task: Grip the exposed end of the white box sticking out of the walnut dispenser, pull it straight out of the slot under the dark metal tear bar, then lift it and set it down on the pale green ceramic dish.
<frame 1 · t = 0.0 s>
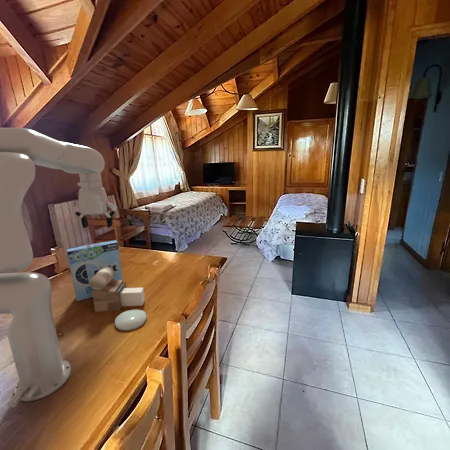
hand: (97, 226, 104), 31 cm above the table, fingers open, 9 cm apart
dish: (131, 320, 94), on the table
white box: (129, 303, 105), on the table
dispenser: (115, 303, 105), on the table
gum box: (100, 293, 114), on the table
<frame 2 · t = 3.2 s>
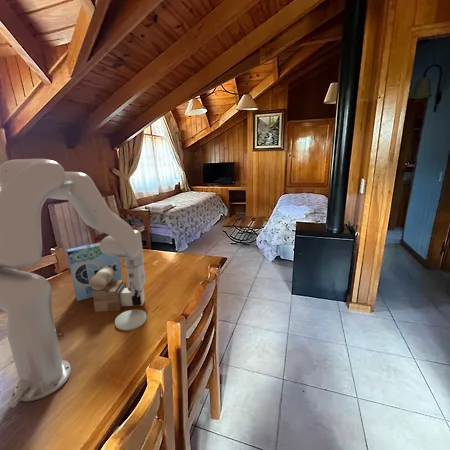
hand: (138, 301, 105), 1 cm above the table, fingers closed on white box, 4 cm apart
white box: (129, 303, 105), on the table, touching gripper
everything else where it was.
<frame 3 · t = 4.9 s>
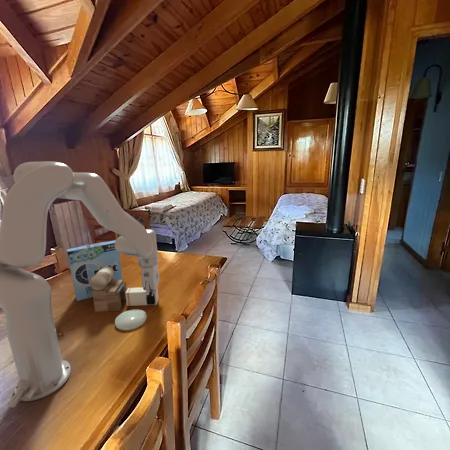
hand: (152, 300, 106), 1 cm above the table, fingers closed on white box, 4 cm apart
white box: (143, 302, 106), on the table, touching gripper
everything else where it was.
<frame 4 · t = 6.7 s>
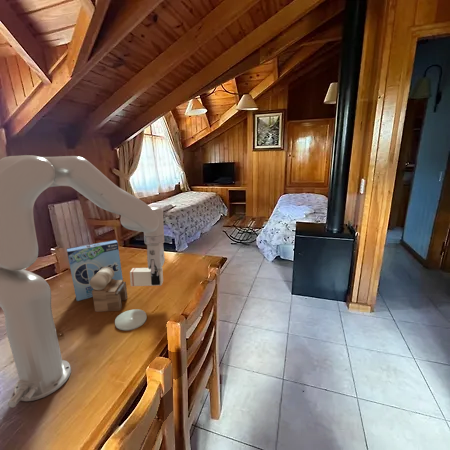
hand: (156, 281, 103), 10 cm above the table, fingers closed on white box, 4 cm apart
white box: (147, 283, 103), point 9 cm above the table, touching gripper
everything else where it was.
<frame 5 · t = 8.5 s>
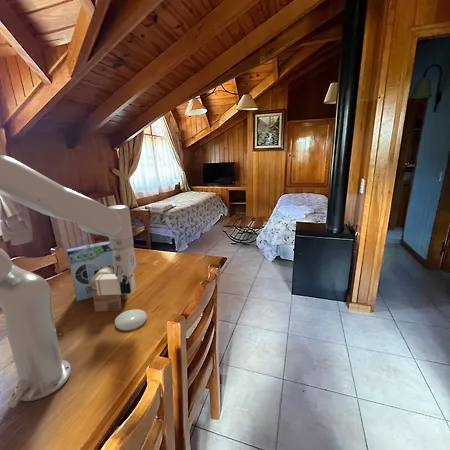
hand: (128, 289, 91), 13 cm above the table, fingers closed on white box, 4 cm apart
white box: (117, 291, 91), point 12 cm above the table, touching gripper
everything else where it was.
when the fingers open (3 cm above the table, at t = 10.2 s): white box stays where it is, resting on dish.
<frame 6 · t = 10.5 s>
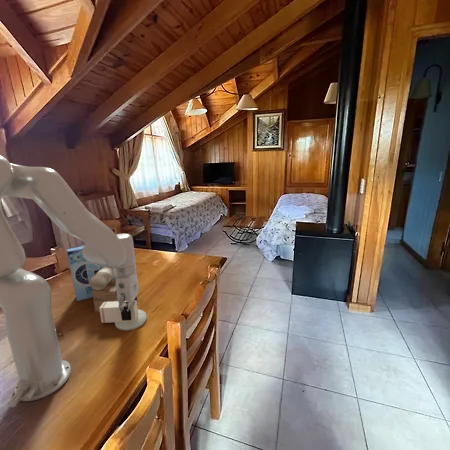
hand: (130, 312, 93), 3 cm above the table, fingers open, 7 cm apart
white box: (120, 318, 93), point 1 cm above the table, touching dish
everything else where it was.
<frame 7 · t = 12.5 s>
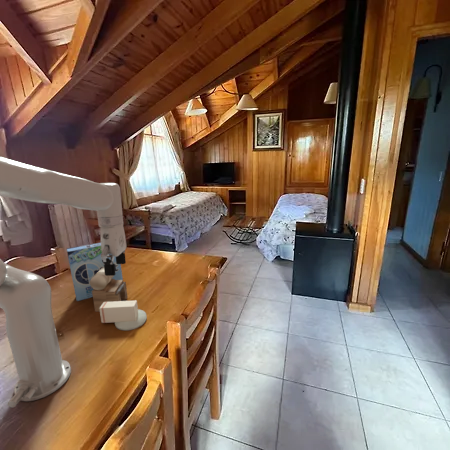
hand: (116, 269, 87), 21 cm above the table, fingers open, 9 cm apart
nothing on the table moved.
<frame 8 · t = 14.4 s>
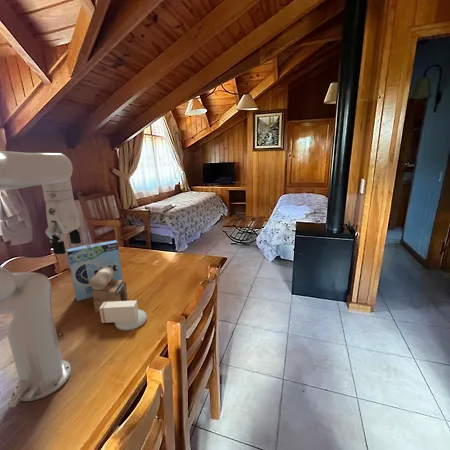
hand: (68, 248, 82), 30 cm above the table, fingers open, 9 cm apart
nothing on the table moved.
at the end: white box inside the target area on the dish (3.7 cm from its centre), point 1.2 cm above the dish's base; white box moved 12.1 cm from its start; the gripper is holding nothing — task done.
